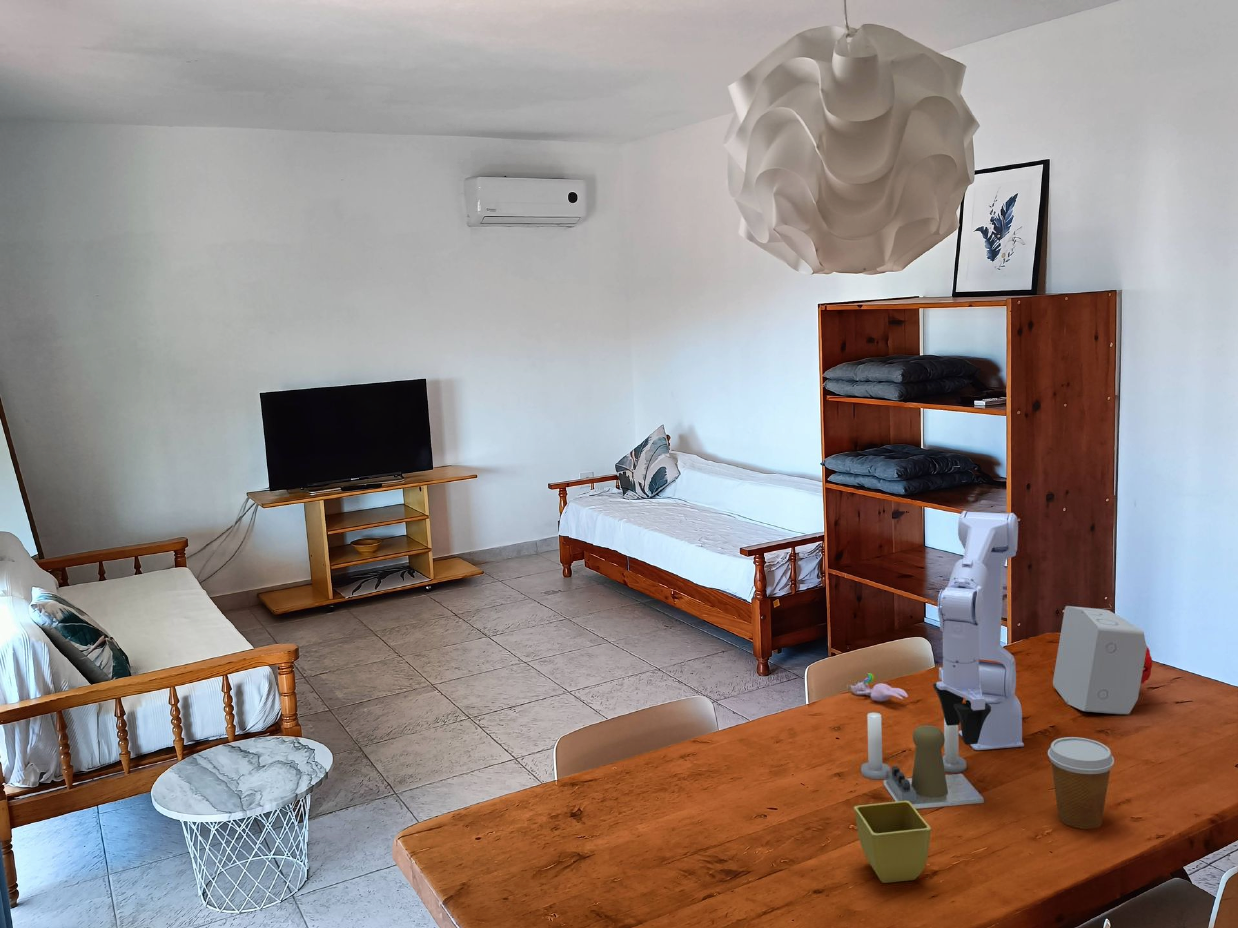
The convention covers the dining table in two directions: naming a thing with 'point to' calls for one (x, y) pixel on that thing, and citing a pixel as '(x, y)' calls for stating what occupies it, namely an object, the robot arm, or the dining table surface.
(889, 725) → the dining table surface
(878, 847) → the flower pot
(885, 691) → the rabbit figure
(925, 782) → the cork
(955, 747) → the post
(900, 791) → the board
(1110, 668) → the electrical switch box
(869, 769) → the post
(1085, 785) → the disposable coffee cup
